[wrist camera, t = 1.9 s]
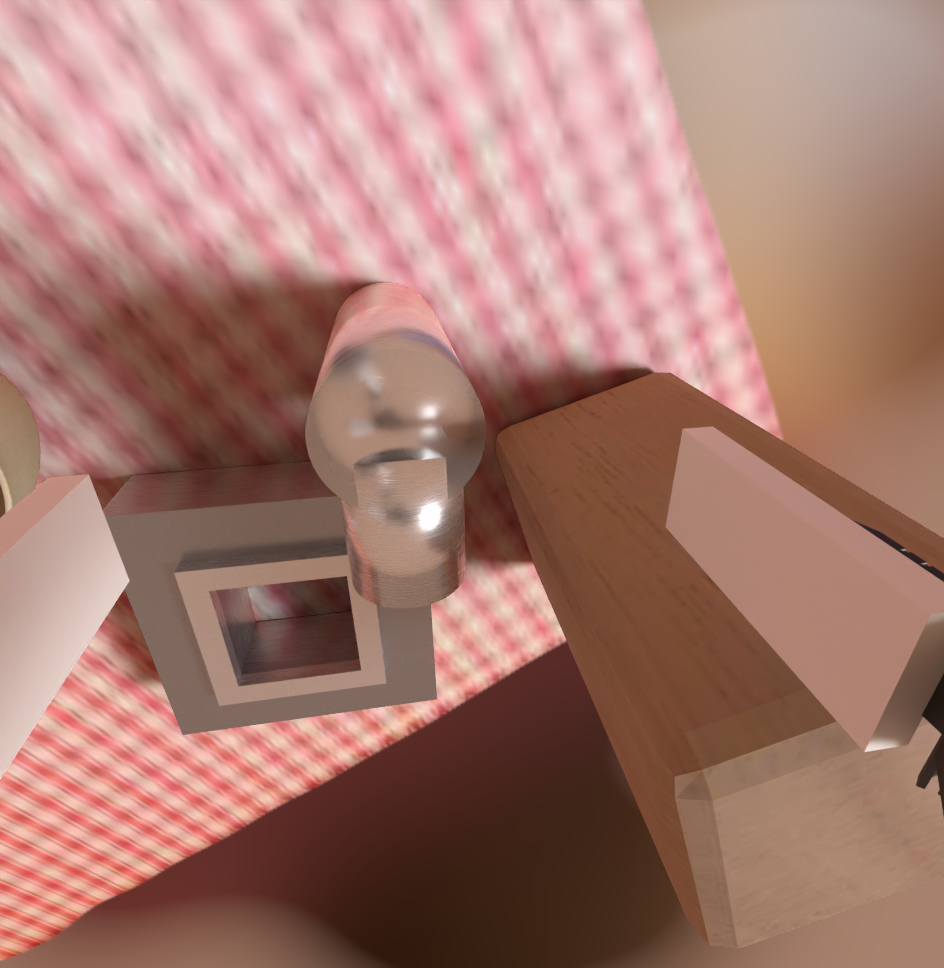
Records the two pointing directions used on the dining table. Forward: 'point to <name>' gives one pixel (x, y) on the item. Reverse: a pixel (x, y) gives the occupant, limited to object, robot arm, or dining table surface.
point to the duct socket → (227, 608)
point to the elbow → (396, 445)
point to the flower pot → (16, 447)
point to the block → (714, 674)
